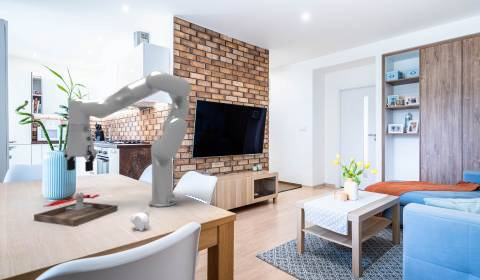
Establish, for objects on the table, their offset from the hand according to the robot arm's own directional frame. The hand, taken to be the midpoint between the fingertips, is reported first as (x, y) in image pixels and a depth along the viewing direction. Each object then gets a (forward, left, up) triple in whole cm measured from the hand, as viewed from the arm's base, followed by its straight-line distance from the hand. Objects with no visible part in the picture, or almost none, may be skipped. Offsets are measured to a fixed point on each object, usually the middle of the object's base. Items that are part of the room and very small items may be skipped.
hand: (80, 170), depth 107 cm
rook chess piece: (0, 0, -18) cm, 18 cm away
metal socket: (0, 0, -17) cm, 17 cm away
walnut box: (-3, +3, -18) cm, 19 cm away
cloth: (+22, -15, -19) cm, 33 cm away
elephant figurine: (-35, +6, -19) cm, 40 cm away
